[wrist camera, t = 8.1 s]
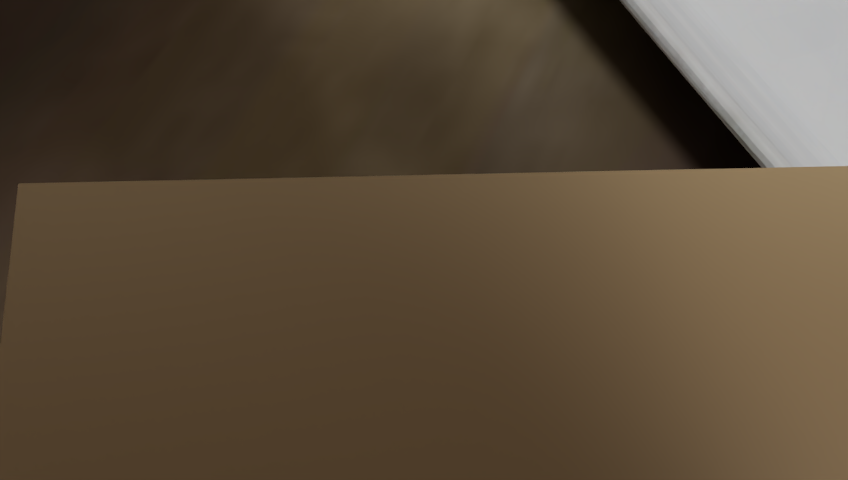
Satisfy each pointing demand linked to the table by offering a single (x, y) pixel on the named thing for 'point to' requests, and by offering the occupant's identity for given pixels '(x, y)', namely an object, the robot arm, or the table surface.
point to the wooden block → (430, 327)
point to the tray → (763, 70)
